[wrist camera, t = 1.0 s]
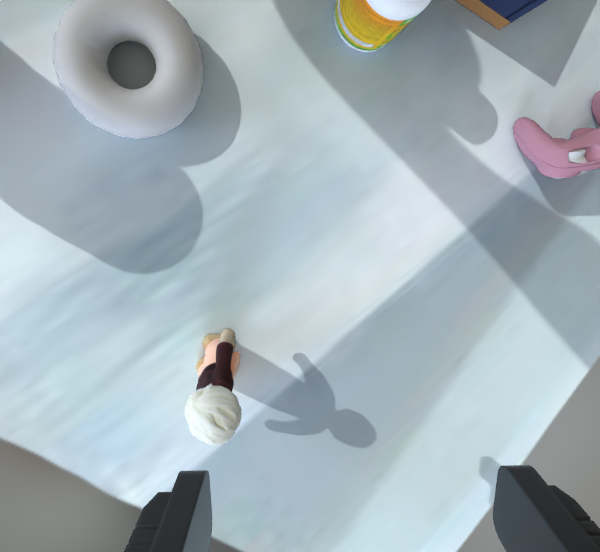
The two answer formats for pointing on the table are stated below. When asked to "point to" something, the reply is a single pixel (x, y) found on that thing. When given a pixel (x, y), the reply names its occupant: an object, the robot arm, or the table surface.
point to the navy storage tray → (500, 9)
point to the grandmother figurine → (215, 391)
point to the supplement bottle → (374, 21)
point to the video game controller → (560, 147)
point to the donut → (99, 84)
